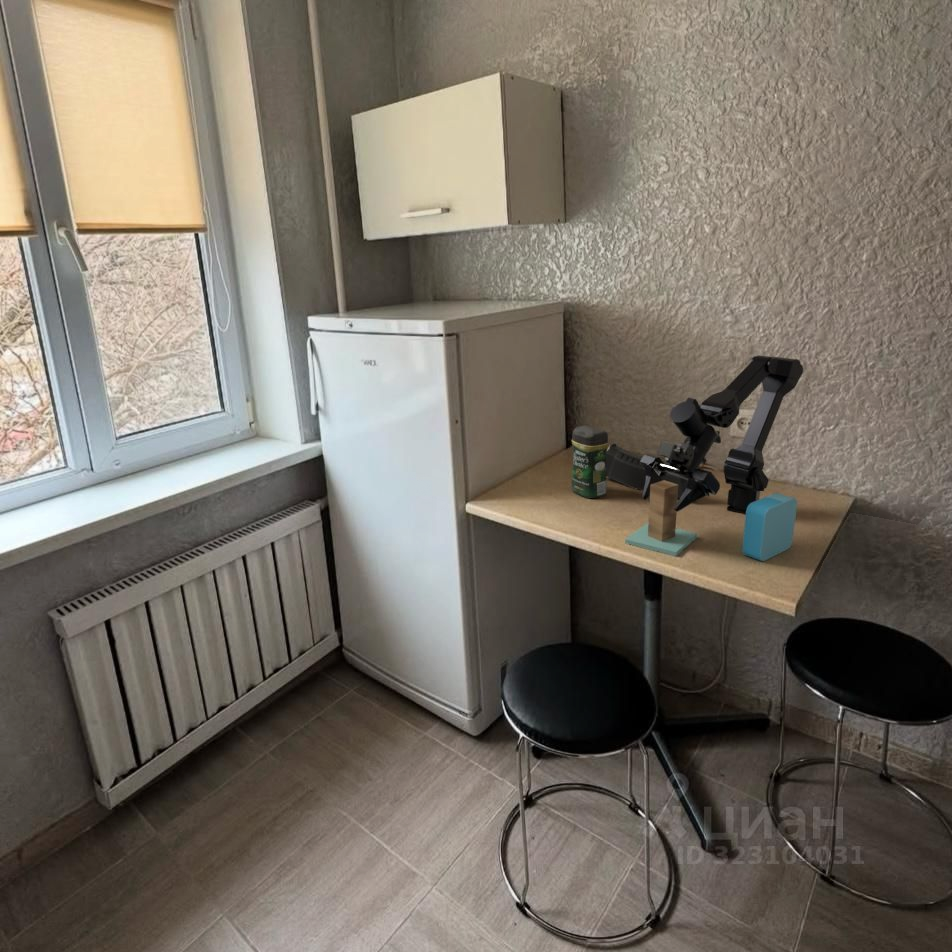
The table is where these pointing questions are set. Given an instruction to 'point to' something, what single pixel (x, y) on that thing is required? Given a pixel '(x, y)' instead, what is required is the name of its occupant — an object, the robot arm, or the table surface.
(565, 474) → the table surface
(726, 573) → the table surface
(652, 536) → the walnut block
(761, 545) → the data package
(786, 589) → the table surface
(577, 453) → the coffee jar
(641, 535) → the teal board
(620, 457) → the magazine
